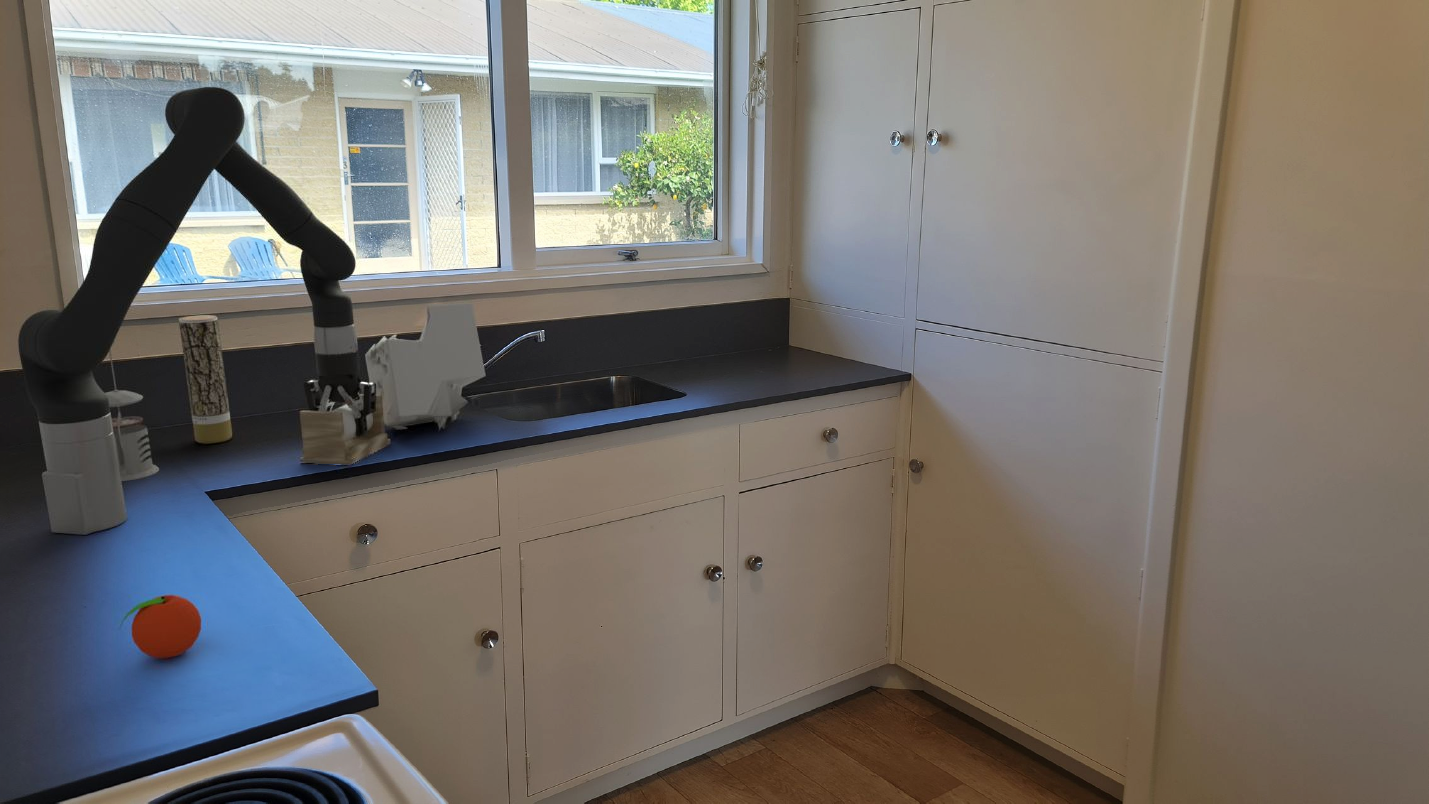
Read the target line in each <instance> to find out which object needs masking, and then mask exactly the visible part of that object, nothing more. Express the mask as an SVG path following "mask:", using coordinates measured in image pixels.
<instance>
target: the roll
mask: <svg viewBox="0 0 1429 804" xmlns="http://www.w3.org/2000/svg"><path fill="white" fill-rule="evenodd" d="M330 412H342V416H343V426H344V436H345V442H346V441H348V440H351V439H353V438H355V437H357V436H356V424H355V418H356V416H355V415H354V413H353V411H352V409H351V408H349V407H348V405H344V406H343V405H342V406H340V407H337V408H335V409H331V411H330ZM366 419H367V431H368V430H369V429H370V428H371V426H372V424H373V415H372V413H371V414H369V415H367V416H366Z"/></svg>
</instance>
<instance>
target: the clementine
mask: <svg viewBox="0 0 1429 804" xmlns="http://www.w3.org/2000/svg"><path fill="white" fill-rule="evenodd" d="M137 610H138V611H137ZM136 611H137V612H136ZM134 612H136V613H135V615H134V617H133V620H132V622H131V637H132V641H133V643H134V644H135V645H136V646H137V648H138V649H139V650H140V652H142V653H143V654H145V655H147V656H149V657H153V658H157V659H169V658H174V657H177V656H179V655H181V654H184V653H185V652H186V651H188V650H189V649H190V648H191V647H192V646H193V645H194V644H195V643H196V641H197V640H198V638H199V636H200V633H201V629H202V618H201V614H200V610H199V609H198V608H197V607H196V606H195V604H194V603H193V602H191V601H190V600H189V599H187V598H185V597H182V596H179V595H173V594H166V595H161V596H157V597H153V598H152V599H148V600H146V601H143V602H141V603H139V604H137V605H136V606H134V607H133V608H132V609H131V610H130V611H128V612H127V613H126V615H125V616H124V618H123V619H122V620H121V624H120V627H119V629H118V630H121V627H122V625H123V622H124V621H125V620H126V619H127V618H128V616H130V615H131V614H133V613H134Z"/></svg>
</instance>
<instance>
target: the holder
mask: <svg viewBox="0 0 1429 804" xmlns="http://www.w3.org/2000/svg"><path fill="white" fill-rule="evenodd" d="M359 394H360V396H361V398H362V399H363V400H364V394H363V393H359ZM353 401H355V399H353ZM344 405H347V404H346V403H342V406H344ZM372 415H373V424H372V426H371V428H370V429H369V430H368V431H367V432H366V433H365V435H363V436H361V437H355V438H353V439H351V440H348V441H346V442H345V436H344V426H343V416H342V412H328V411H309V410H307V409H306V410H301V411H299V418H300V419H299V420H300V427H301V438H302V446H303V448H302V449H301V450H302V451H301V452H302V457H300V458H299V461H300V462H305V463H317V464H316V465H318V464H341V465H350V464H353V463H354V464H356V463H358V462H360V461H362V460H364V459H365V458H364V457H366V458H368V457H369V456H371V455H373V454H375V453H377V452H378V450H379V451H380V450H382V449H385V447H388V446H389V445H391V444H392V443H391V439H390V438H388V433H387V432H386V428H385V425H384V416H383V404H382V395H376V411H375V412H373V413H372ZM374 452H375V453H374ZM370 454H371V455H370ZM368 455H369V456H368ZM363 458H364V459H363ZM361 459H362V460H361ZM359 460H360V461H359ZM357 461H358V462H357ZM355 462H356V463H355ZM354 464H353V465H354Z"/></svg>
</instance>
